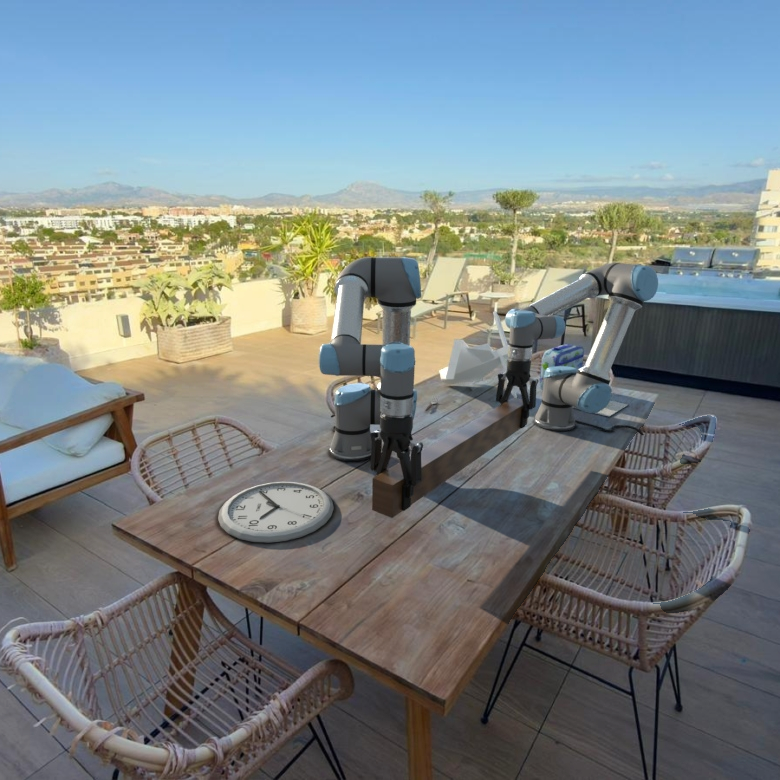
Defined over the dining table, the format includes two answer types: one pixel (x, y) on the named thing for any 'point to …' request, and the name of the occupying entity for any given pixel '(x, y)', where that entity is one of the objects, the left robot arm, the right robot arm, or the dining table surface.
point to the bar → (448, 456)
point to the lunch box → (561, 358)
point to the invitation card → (611, 408)
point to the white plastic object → (476, 361)
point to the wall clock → (275, 512)
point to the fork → (432, 403)
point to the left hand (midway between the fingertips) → (394, 503)
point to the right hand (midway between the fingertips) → (513, 424)
